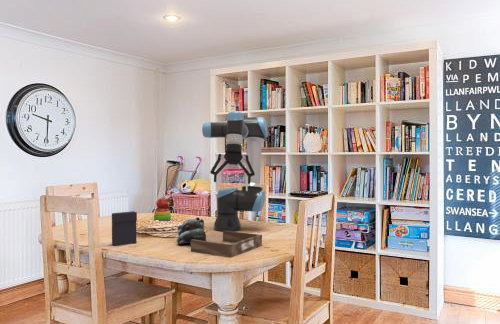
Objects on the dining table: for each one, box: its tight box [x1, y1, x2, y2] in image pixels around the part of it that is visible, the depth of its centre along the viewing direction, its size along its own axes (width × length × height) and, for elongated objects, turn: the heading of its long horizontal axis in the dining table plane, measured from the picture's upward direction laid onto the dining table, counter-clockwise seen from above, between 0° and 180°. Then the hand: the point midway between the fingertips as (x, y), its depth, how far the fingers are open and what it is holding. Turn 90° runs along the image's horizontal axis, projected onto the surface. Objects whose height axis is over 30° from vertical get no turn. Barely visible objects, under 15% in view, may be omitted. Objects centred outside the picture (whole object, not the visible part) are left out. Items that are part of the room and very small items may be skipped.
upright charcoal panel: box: [111, 211, 138, 247], centre depth 208 cm, size 11×4×15 cm, turn 129°
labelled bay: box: [190, 231, 263, 258], centre depth 200 cm, size 26×22×5 cm
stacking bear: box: [153, 197, 172, 222], centre depth 246 cm, size 11×10×18 cm
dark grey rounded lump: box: [176, 217, 207, 246], centre depth 211 cm, size 15×12×14 cm
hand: (231, 190), depth 200 cm, fingers open, 13 cm apart
